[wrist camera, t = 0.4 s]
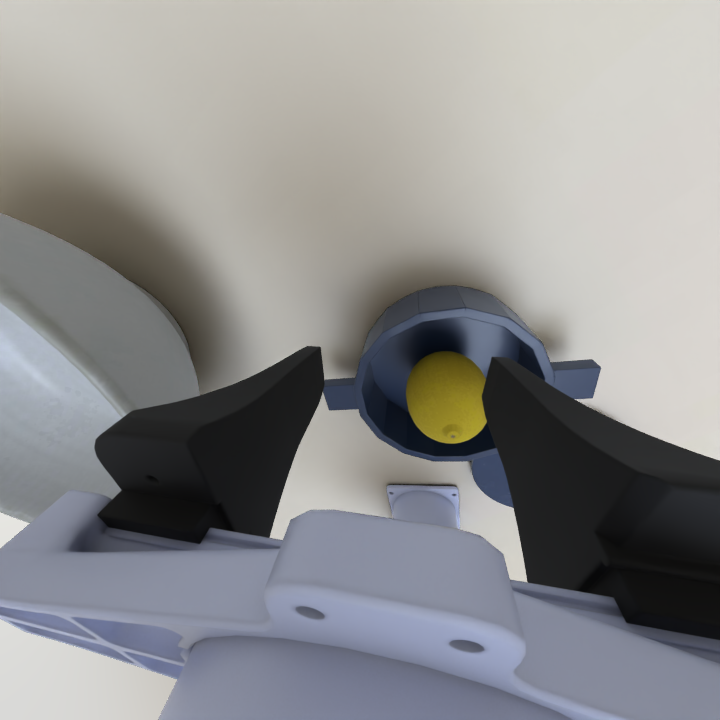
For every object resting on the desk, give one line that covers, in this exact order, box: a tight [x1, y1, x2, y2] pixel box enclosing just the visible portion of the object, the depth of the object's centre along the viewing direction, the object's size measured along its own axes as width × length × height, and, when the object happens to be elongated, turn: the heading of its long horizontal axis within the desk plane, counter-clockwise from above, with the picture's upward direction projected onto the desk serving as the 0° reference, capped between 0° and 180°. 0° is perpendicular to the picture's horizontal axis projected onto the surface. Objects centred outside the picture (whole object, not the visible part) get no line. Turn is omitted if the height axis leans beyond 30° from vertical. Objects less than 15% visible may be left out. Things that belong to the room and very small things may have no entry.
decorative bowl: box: [0, 213, 200, 523], centre depth 21 cm, size 27×27×12 cm
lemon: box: [406, 351, 487, 444], centre depth 19 cm, size 6×6×8 cm
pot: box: [323, 286, 601, 461], centre depth 21 cm, size 13×18×5 cm
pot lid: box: [471, 453, 514, 508], centre depth 24 cm, size 13×13×5 cm
